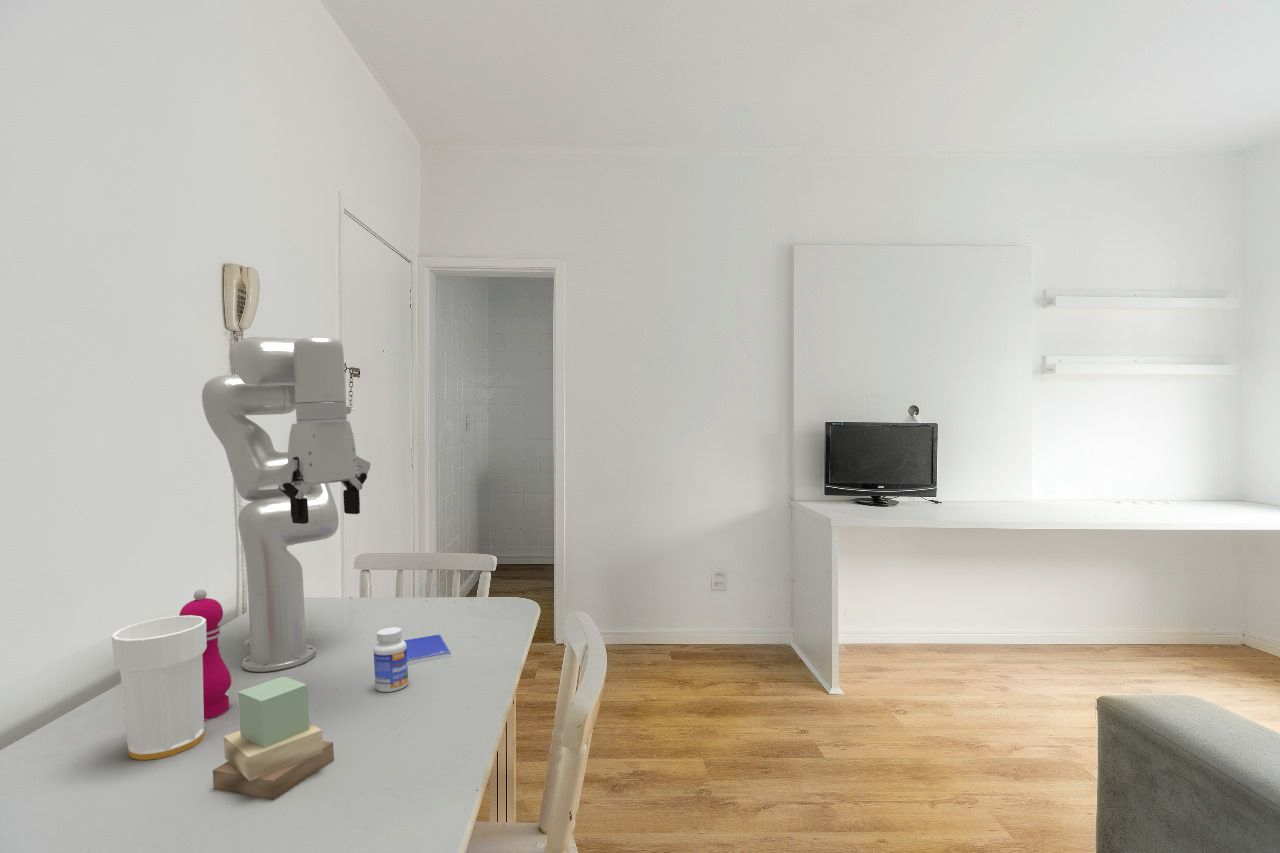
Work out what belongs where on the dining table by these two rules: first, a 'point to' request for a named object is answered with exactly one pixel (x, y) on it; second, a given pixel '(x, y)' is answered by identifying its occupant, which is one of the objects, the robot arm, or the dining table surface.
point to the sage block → (273, 711)
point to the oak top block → (271, 752)
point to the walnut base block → (271, 776)
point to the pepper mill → (211, 655)
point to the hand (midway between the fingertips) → (327, 518)
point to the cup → (162, 684)
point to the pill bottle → (390, 660)
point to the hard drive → (426, 649)
